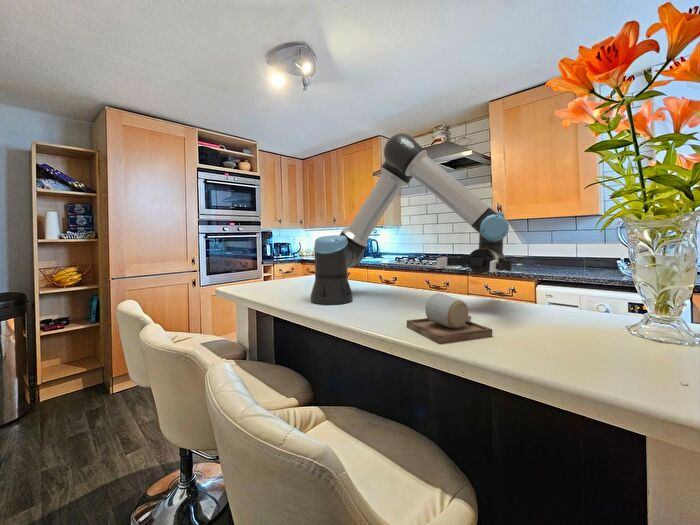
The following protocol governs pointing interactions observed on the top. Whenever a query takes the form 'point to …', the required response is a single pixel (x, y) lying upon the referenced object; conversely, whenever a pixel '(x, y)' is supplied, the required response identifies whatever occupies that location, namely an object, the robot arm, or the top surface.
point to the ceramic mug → (447, 311)
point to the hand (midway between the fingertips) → (463, 265)
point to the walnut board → (448, 331)
